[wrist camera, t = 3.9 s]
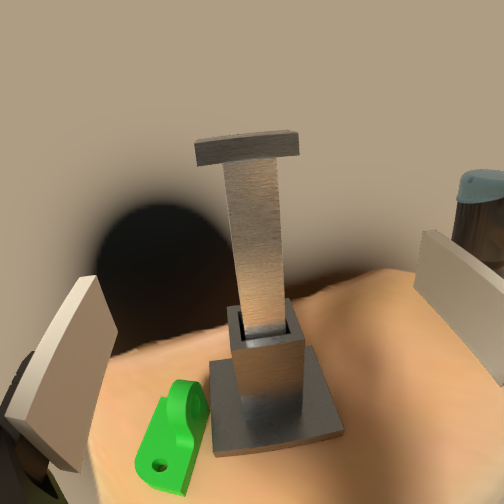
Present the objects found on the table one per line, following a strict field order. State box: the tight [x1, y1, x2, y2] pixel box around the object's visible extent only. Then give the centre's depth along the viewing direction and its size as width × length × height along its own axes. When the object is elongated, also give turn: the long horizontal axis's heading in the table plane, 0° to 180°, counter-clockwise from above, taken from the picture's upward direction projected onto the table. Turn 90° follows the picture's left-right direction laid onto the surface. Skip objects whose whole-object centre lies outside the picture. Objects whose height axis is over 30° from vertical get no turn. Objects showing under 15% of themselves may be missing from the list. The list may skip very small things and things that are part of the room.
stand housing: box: [209, 298, 344, 457], centre depth 31 cm, size 14×14×14 cm
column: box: [194, 130, 299, 341], centre depth 27 cm, size 7×4×28 cm, turn 97°
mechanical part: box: [135, 380, 210, 497], centre depth 27 cm, size 12×6×8 cm, turn 172°
